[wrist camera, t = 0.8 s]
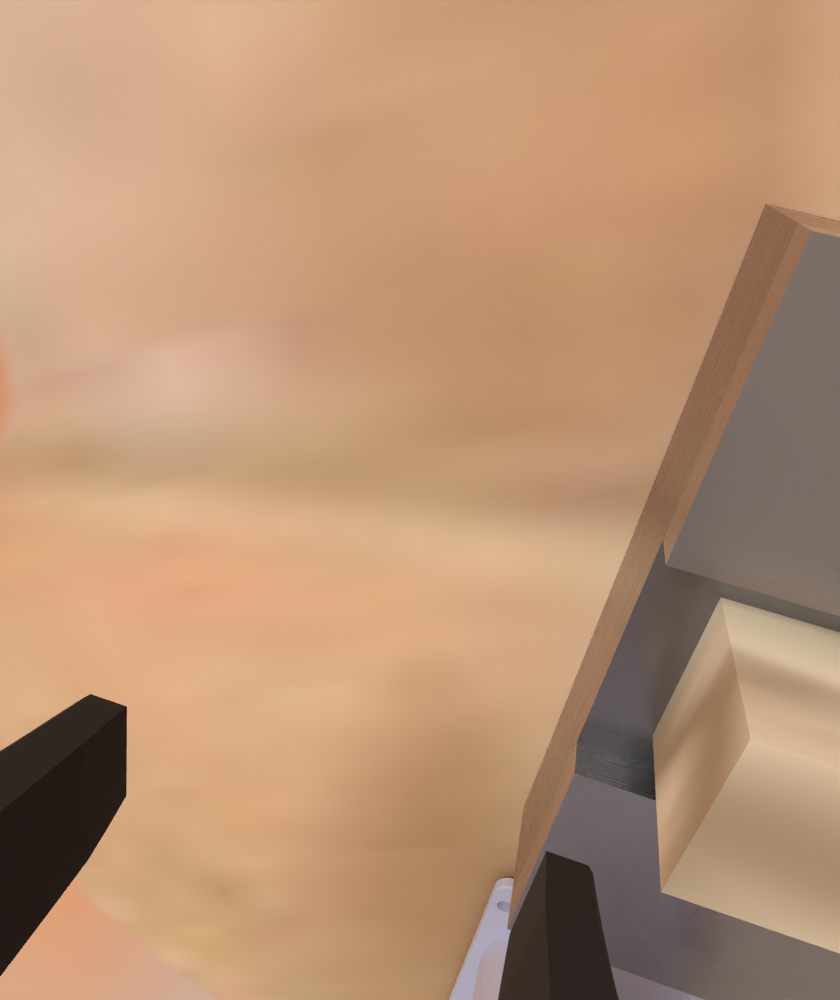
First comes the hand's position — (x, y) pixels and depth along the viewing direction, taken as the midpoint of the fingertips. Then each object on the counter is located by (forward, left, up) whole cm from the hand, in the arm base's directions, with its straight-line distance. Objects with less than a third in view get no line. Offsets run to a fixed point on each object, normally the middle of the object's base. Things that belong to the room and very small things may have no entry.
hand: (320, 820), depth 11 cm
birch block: (0, -8, -6) cm, 10 cm away
